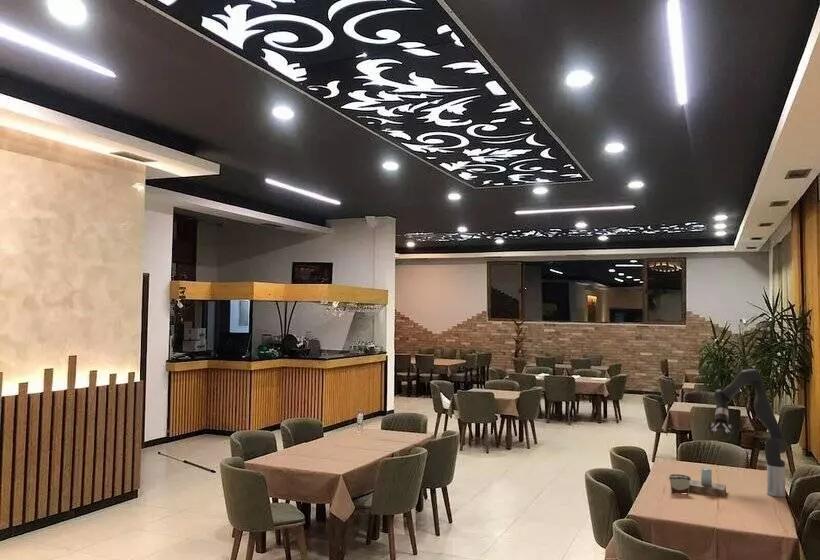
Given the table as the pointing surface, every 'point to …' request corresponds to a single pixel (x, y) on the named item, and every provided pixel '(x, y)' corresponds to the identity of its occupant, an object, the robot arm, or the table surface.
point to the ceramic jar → (706, 476)
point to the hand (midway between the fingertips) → (720, 437)
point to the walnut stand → (707, 488)
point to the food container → (679, 483)
